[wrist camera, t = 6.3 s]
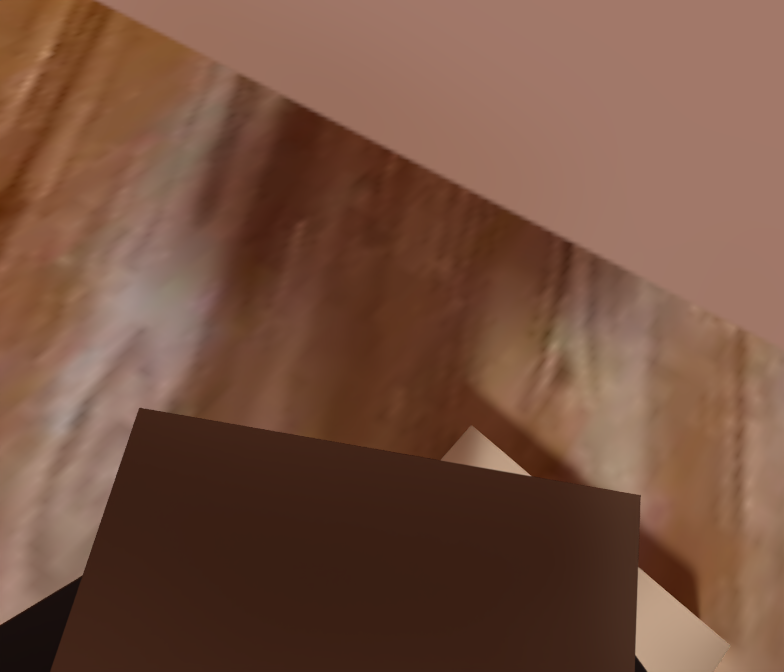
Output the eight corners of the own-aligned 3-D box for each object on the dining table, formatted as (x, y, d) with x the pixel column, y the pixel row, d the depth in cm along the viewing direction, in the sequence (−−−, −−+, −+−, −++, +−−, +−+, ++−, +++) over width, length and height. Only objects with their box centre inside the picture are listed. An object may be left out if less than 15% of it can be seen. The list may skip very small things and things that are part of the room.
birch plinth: (701, 640, 20) (730, 645, 19) (510, 925, 18) (522, 964, 16) (466, 437, 23) (471, 425, 21) (271, 660, 21) (257, 668, 19)
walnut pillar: (472, 793, 13) (615, 1261, 4) (247, 744, 14) (-83, 1066, 5) (499, 550, 15) (640, 495, 6) (299, 513, 16) (139, 407, 6)
